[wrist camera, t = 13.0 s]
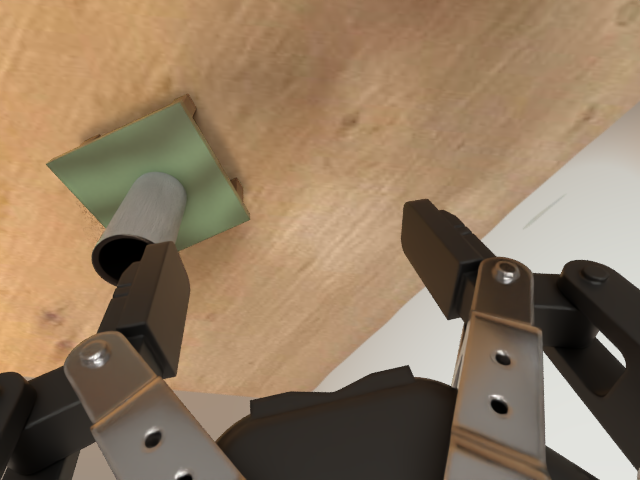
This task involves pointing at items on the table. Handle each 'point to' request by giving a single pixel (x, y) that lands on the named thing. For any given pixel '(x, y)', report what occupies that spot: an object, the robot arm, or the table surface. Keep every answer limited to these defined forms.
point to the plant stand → (156, 156)
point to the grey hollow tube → (140, 224)
